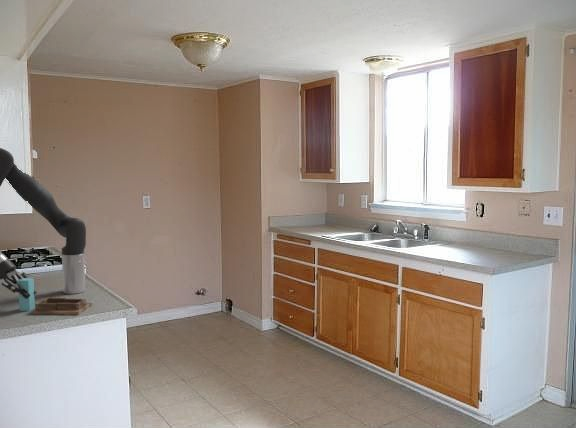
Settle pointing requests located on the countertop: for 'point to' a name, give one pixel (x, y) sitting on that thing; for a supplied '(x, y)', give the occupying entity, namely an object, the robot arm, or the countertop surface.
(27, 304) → the post
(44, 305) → the keyhole board
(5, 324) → the countertop surface
